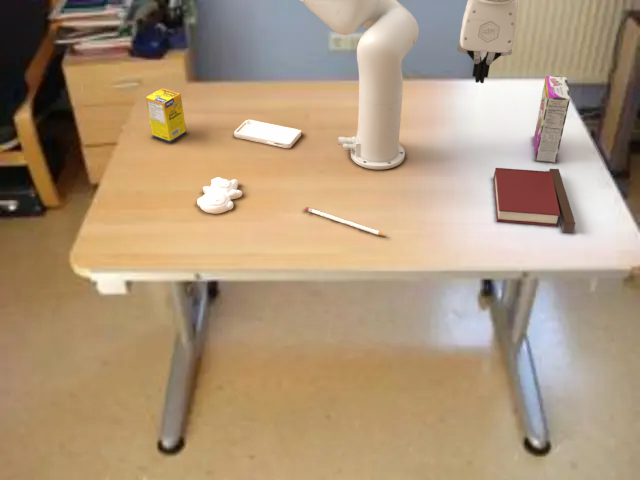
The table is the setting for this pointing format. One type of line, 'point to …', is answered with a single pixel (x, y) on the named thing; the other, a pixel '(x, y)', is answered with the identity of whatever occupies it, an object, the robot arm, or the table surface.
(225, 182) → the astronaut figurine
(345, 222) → the pencil
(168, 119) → the supplement box
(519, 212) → the book
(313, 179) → the table surface
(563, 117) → the candy bar box
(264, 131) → the phone case
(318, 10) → the robot arm
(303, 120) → the table surface
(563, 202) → the rail
